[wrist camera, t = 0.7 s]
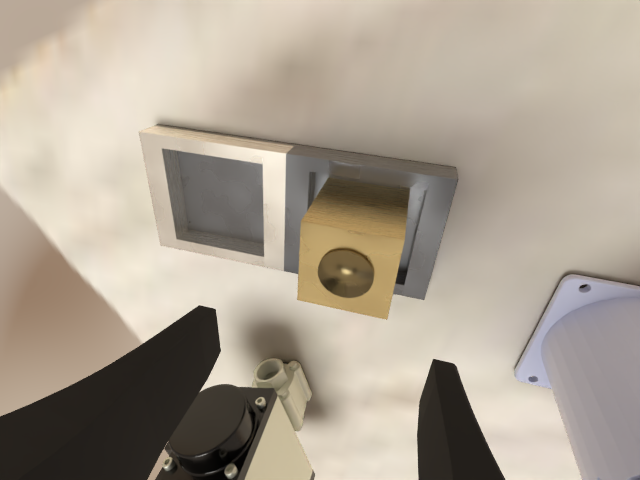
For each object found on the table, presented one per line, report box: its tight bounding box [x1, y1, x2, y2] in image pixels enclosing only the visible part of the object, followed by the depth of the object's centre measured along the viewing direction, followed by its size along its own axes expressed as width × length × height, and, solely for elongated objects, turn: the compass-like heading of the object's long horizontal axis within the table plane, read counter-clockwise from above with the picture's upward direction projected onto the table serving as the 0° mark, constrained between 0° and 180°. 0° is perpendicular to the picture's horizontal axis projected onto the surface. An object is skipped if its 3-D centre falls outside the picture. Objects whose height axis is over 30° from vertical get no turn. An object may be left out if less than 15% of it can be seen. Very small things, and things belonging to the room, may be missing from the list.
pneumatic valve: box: [155, 358, 315, 480], centre depth 24 cm, size 6×12×12 cm, turn 17°
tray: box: [139, 124, 458, 300], centre depth 20 cm, size 16×7×2 cm, turn 87°
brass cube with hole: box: [297, 178, 410, 320], centre depth 18 cm, size 4×4×5 cm
